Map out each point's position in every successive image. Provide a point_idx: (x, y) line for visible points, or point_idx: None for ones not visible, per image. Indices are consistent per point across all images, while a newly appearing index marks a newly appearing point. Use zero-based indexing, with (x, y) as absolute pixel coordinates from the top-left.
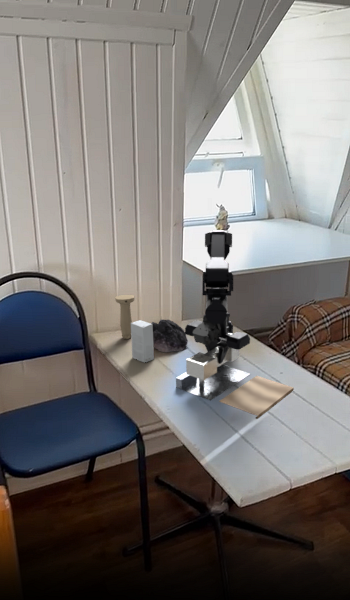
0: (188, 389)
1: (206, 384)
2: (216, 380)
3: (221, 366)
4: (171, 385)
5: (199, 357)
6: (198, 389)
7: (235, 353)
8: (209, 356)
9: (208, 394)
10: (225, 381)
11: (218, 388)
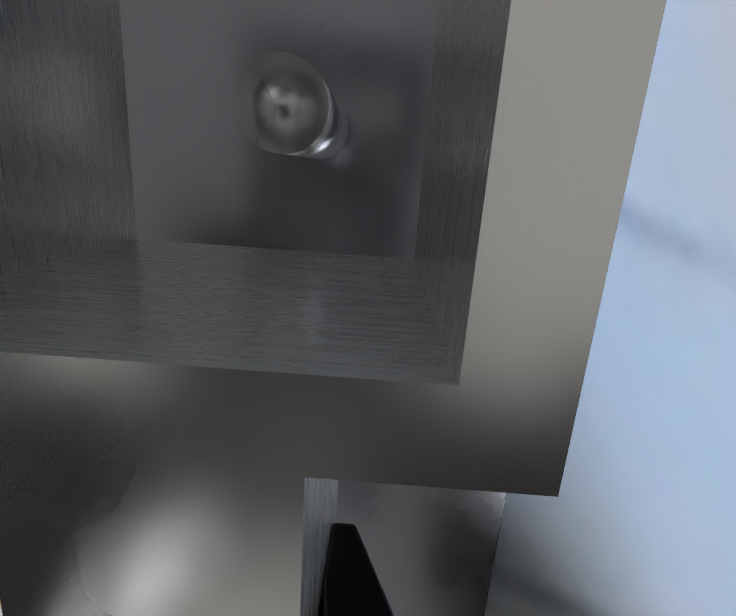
0: (436, 1)
1: (327, 238)
2: None
3: (412, 611)
4: (696, 53)
5: (444, 300)
6: (334, 78)
7: None
8: (4, 380)
9: (167, 38)
10: None
11: (169, 231)
